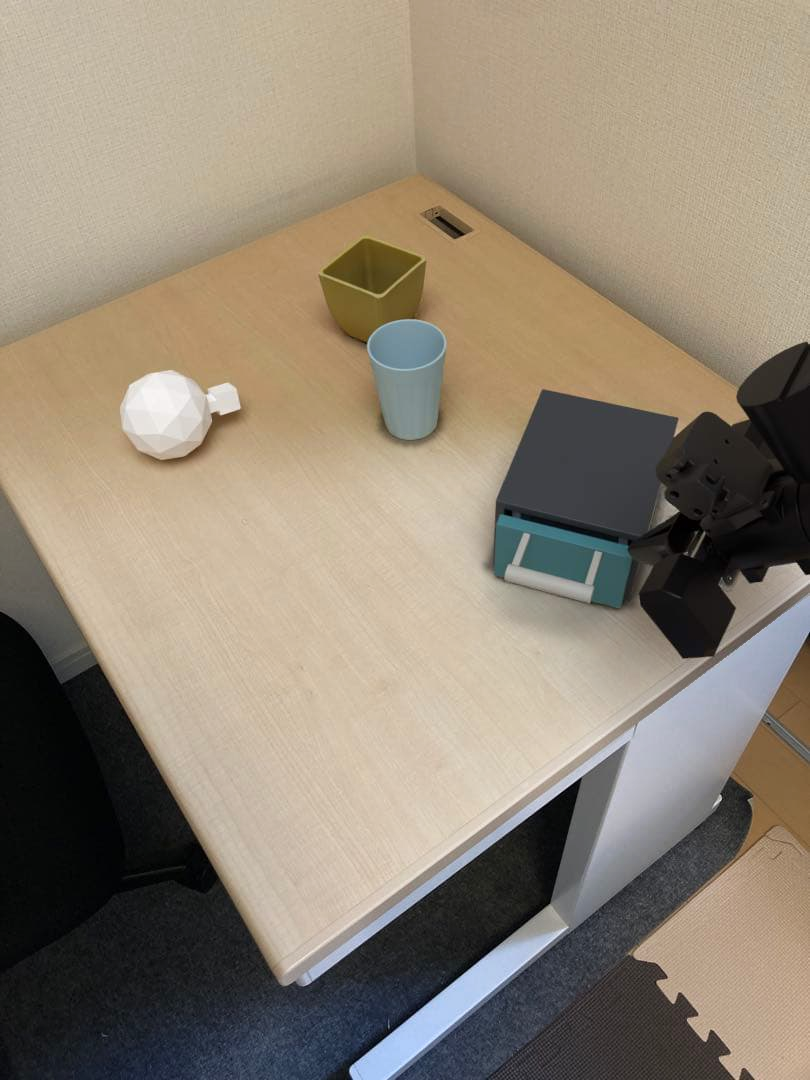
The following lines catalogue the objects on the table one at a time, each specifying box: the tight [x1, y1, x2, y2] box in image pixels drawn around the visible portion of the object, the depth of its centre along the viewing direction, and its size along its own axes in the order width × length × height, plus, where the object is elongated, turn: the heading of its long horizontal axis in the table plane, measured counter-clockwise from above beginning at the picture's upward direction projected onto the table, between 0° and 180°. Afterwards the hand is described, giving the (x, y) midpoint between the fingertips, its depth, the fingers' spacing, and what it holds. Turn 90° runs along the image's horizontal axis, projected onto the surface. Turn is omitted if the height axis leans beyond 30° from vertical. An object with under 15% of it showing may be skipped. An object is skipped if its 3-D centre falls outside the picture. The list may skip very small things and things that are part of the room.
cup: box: [366, 318, 448, 441], centre depth 92 cm, size 8×8×10 cm
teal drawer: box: [493, 511, 633, 609], centre depth 80 cm, size 18×11×7 cm, turn 159°
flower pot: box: [317, 234, 427, 344], centre depth 102 cm, size 9×9×9 cm
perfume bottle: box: [119, 369, 242, 461], centre depth 92 cm, size 9×9×12 cm
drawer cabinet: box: [492, 388, 679, 602], centre depth 82 cm, size 15×13×9 cm
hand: (631, 551), depth 69 cm, fingers closed
